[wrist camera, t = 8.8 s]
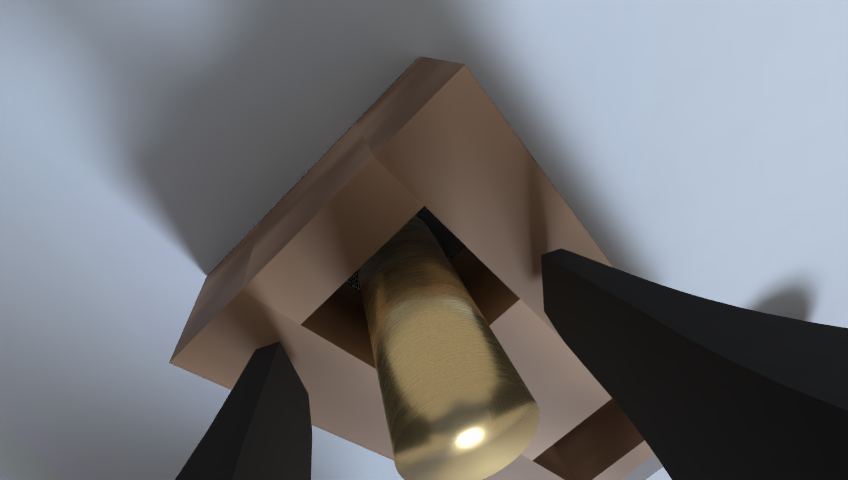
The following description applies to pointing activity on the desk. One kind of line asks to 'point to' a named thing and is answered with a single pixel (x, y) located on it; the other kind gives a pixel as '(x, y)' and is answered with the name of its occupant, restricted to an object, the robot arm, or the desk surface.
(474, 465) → the brass pin
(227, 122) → the desk surface
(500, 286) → the block
